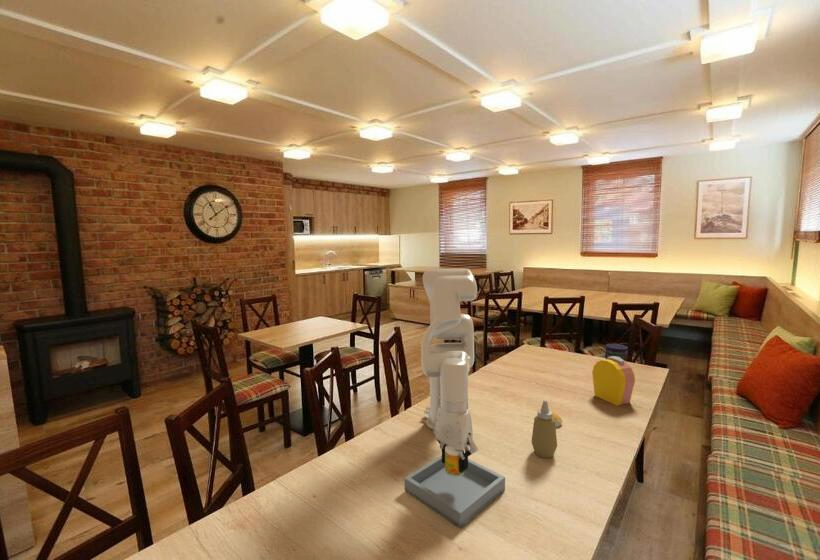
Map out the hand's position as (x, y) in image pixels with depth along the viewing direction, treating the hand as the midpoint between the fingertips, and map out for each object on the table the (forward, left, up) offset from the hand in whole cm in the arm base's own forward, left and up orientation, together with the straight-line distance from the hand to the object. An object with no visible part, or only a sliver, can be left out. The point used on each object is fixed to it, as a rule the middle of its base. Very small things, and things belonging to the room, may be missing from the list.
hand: (454, 465), depth 109 cm
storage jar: (+1, +126, -8) cm, 126 cm away
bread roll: (0, +57, -8) cm, 57 cm away
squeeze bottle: (+9, +35, -8) cm, 37 cm away
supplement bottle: (0, 0, -2) cm, 2 cm away
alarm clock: (+10, +95, -8) cm, 96 cm away
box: (0, 0, -8) cm, 8 cm away
